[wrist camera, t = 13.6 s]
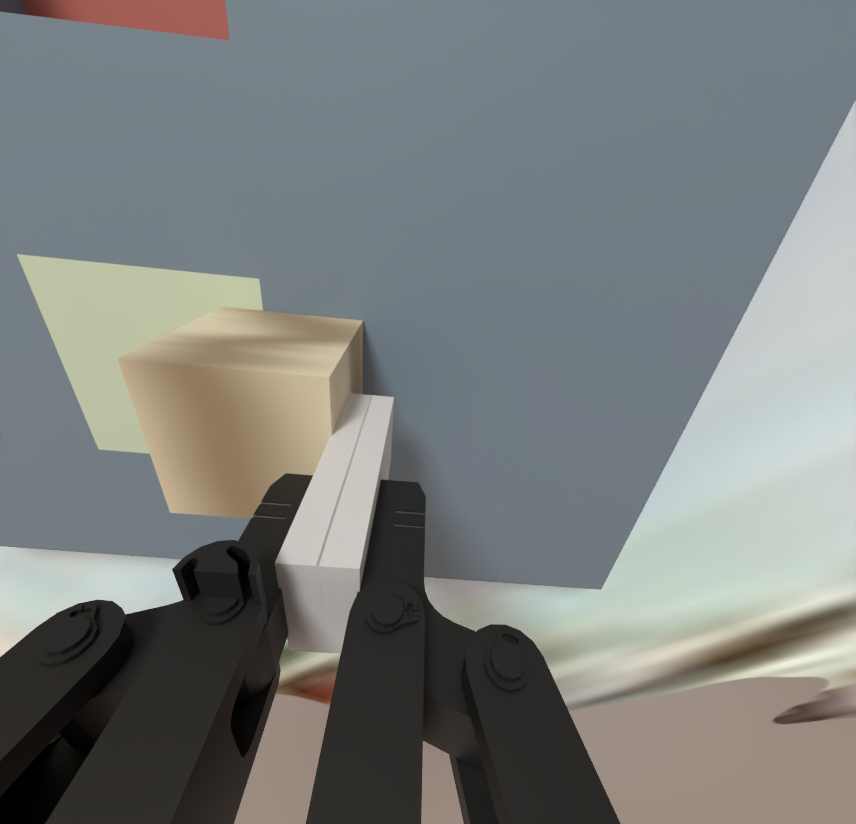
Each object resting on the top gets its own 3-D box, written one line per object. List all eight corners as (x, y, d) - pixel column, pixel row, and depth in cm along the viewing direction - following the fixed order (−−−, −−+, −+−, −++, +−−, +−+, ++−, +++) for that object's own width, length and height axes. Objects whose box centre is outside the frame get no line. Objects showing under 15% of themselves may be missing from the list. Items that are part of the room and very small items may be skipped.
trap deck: (989, -453, 8) (1382, -915, 5) (576, 533, 24) (601, 589, 21) (-898, -814, 7) (-2227, -1831, 3) (-29, 486, 23) (-113, 537, 19)
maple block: (362, 320, 13) (329, 377, 9) (362, 436, 16) (335, 525, 11) (222, 306, 13) (117, 358, 9) (243, 426, 16) (169, 512, 11)
